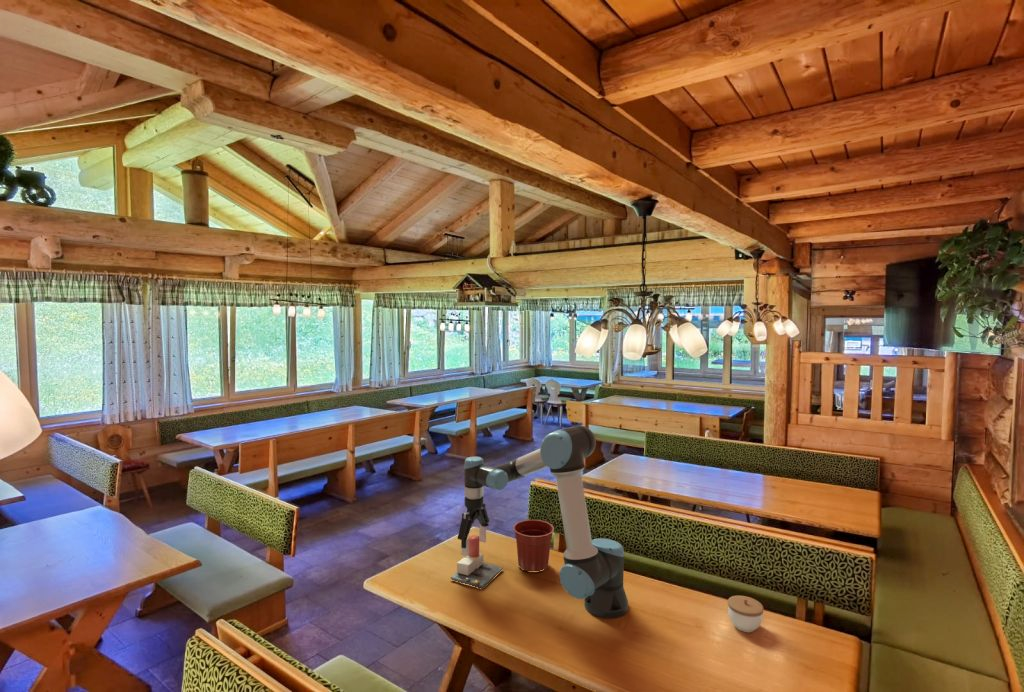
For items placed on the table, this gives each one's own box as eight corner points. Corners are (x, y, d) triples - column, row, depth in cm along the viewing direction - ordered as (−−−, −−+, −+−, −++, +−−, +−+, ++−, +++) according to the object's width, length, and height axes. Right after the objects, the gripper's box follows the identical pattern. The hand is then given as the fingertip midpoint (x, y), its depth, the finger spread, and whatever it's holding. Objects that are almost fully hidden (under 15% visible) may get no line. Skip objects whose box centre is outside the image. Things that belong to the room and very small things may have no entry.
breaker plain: (474, 569, 204) (474, 560, 204) (467, 575, 200) (467, 565, 199) (464, 566, 206) (464, 557, 206) (457, 572, 202) (457, 562, 202)
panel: (502, 571, 207) (502, 565, 207) (482, 589, 193) (482, 584, 193) (473, 563, 213) (473, 557, 213) (450, 580, 199) (450, 575, 199)
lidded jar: (742, 639, 164) (743, 610, 163) (720, 620, 174) (720, 593, 174) (770, 633, 167) (771, 605, 166) (747, 615, 177) (747, 588, 177)
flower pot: (560, 563, 214) (561, 525, 213) (541, 580, 200) (541, 539, 199) (526, 553, 222) (526, 516, 221) (505, 569, 208) (505, 530, 207)
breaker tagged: (483, 563, 209) (483, 553, 209) (476, 569, 205) (476, 558, 205) (472, 560, 212) (472, 550, 211) (466, 566, 207) (466, 555, 207)
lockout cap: (481, 553, 209) (481, 536, 209) (475, 558, 205) (475, 540, 205) (472, 551, 211) (472, 534, 211) (466, 555, 207) (466, 538, 207)
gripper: (482, 485, 219) (482, 534, 221) (448, 504, 197) (448, 558, 199) (497, 488, 216) (497, 538, 217) (464, 508, 194) (465, 563, 195)
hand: (474, 548), depth 208 cm, fingers open, 13 cm apart
